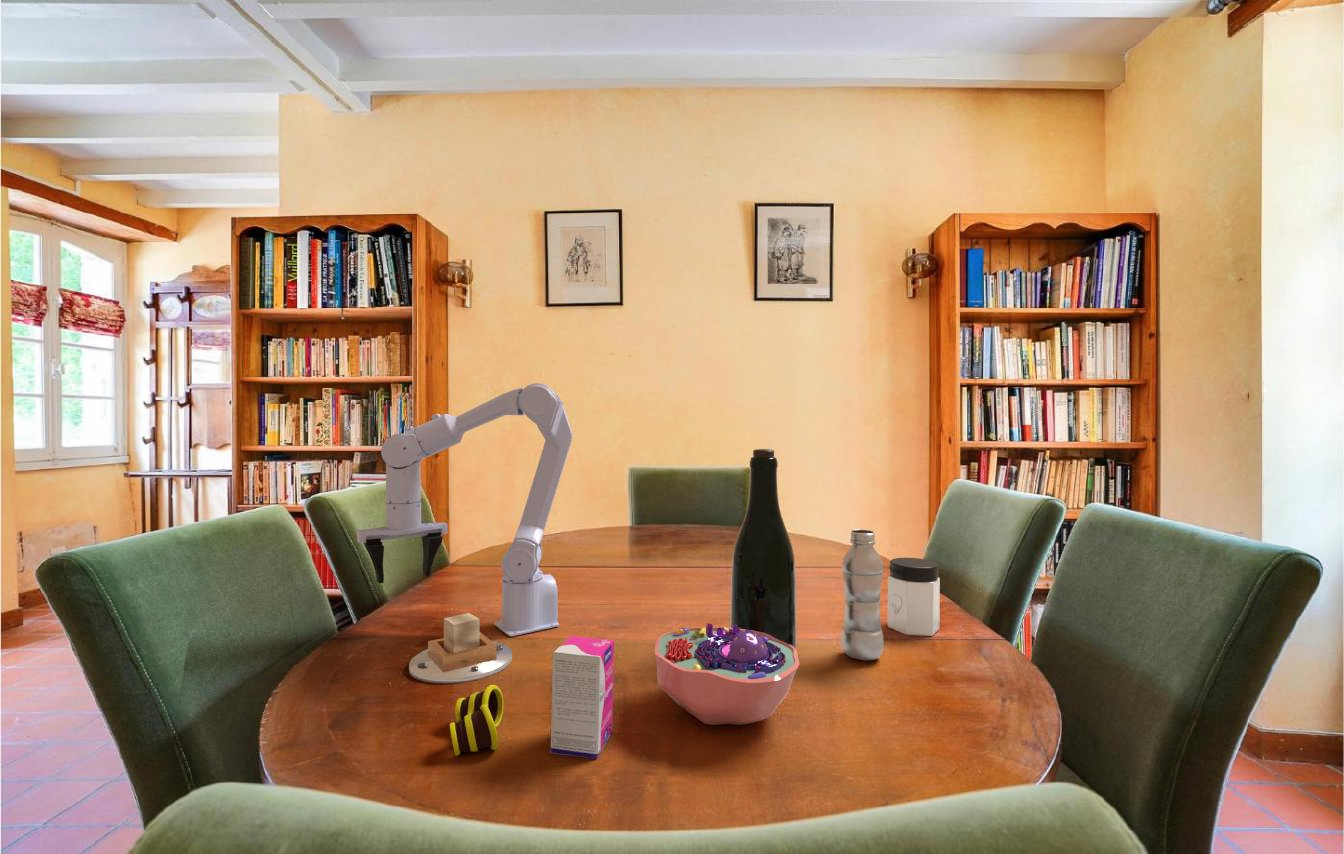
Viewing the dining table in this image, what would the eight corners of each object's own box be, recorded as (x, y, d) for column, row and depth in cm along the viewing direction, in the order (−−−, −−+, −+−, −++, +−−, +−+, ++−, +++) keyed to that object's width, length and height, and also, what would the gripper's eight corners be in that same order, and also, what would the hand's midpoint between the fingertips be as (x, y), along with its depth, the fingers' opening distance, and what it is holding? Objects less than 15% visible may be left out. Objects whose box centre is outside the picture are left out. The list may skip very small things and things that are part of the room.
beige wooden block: (468, 650, 97) (468, 612, 97) (479, 657, 94) (479, 619, 94) (443, 656, 94) (443, 618, 94) (453, 664, 91) (453, 624, 91)
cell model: (709, 671, 91) (709, 596, 91) (827, 718, 77) (827, 628, 77) (622, 708, 79) (622, 622, 79) (742, 772, 65) (742, 666, 65)
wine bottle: (745, 638, 105) (746, 447, 104) (805, 650, 99) (805, 448, 99) (719, 659, 96) (719, 449, 95) (783, 673, 90) (783, 451, 90)
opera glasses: (464, 726, 76) (455, 688, 76) (506, 714, 77) (498, 676, 77) (452, 770, 67) (442, 726, 67) (501, 755, 68) (492, 712, 68)
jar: (878, 623, 113) (878, 559, 113) (911, 618, 116) (912, 555, 116) (914, 639, 104) (915, 569, 104) (950, 633, 108) (950, 565, 107)
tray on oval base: (492, 638, 104) (492, 621, 104) (527, 666, 92) (527, 647, 92) (398, 658, 96) (398, 639, 96) (423, 692, 83) (423, 671, 83)
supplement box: (599, 759, 67) (599, 656, 67) (549, 753, 68) (549, 652, 68) (614, 733, 73) (615, 638, 73) (568, 728, 74) (568, 634, 74)
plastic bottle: (885, 653, 98) (886, 529, 98) (881, 668, 92) (881, 536, 92) (844, 646, 101) (845, 526, 101) (837, 661, 95) (838, 533, 95)
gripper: (439, 496, 115) (439, 568, 115) (354, 502, 106) (354, 580, 107) (450, 500, 109) (450, 576, 109) (361, 507, 101) (361, 589, 101)
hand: (403, 578), depth 108 cm, fingers open, 7 cm apart
